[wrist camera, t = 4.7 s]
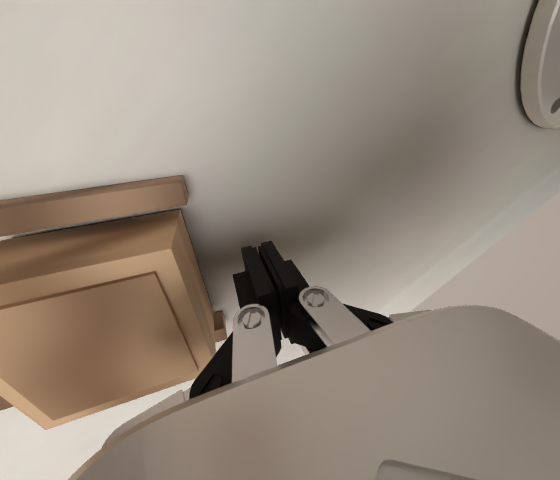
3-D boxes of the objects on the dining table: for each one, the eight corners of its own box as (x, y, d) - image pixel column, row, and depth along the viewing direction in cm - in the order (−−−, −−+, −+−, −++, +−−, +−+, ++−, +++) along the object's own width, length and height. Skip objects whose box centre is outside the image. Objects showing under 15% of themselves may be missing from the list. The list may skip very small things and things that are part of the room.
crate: (180, 209, 11) (170, 251, 7) (212, 312, 14) (217, 374, 11) (1, 240, 9) (-124, 314, 6) (87, 347, 13) (42, 435, 9)
